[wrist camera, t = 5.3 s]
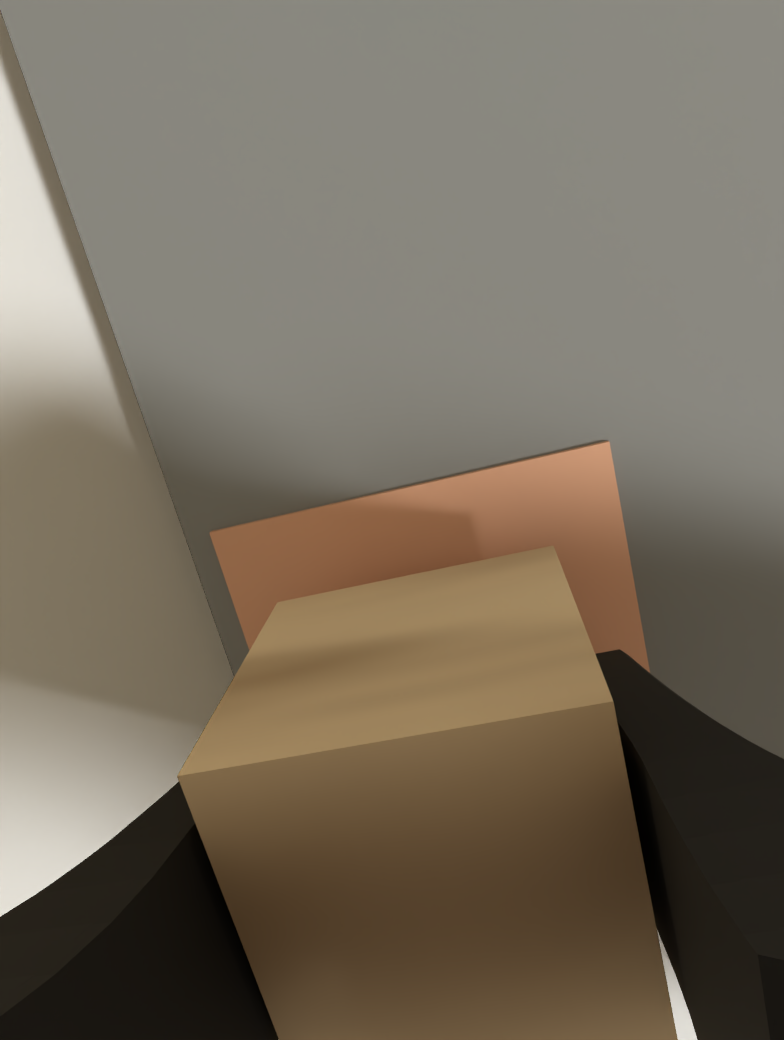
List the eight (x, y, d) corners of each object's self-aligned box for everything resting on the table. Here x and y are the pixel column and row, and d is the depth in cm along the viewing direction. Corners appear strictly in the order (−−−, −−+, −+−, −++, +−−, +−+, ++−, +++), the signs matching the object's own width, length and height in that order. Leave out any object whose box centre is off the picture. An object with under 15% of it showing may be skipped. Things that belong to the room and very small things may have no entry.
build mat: (970, 776, 14) (992, 797, 13) (313, 873, 16) (308, 895, 15) (896, -940, 8) (929, -1035, 7) (-140, -439, 10) (-178, -486, 9)
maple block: (602, 789, 12) (679, 1050, 8) (349, 828, 13) (297, 1087, 9) (553, 545, 11) (613, 700, 7) (277, 602, 12) (177, 775, 8)
